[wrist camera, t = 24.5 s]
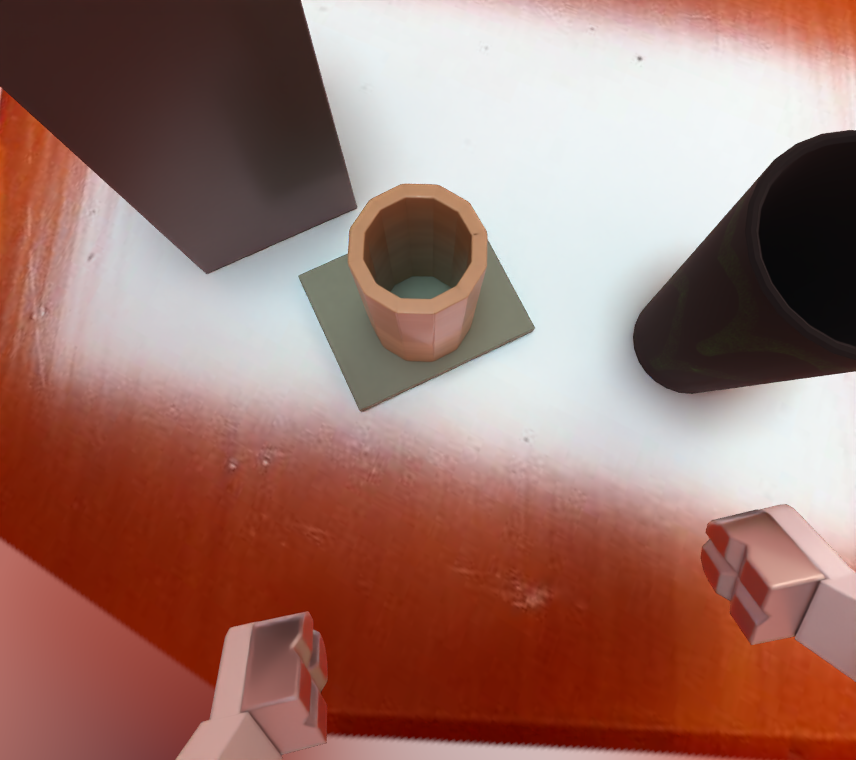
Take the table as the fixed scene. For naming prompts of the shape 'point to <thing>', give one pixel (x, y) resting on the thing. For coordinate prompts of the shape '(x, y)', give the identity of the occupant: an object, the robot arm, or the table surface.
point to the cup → (765, 282)
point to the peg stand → (186, 113)
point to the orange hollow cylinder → (418, 267)
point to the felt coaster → (380, 368)
